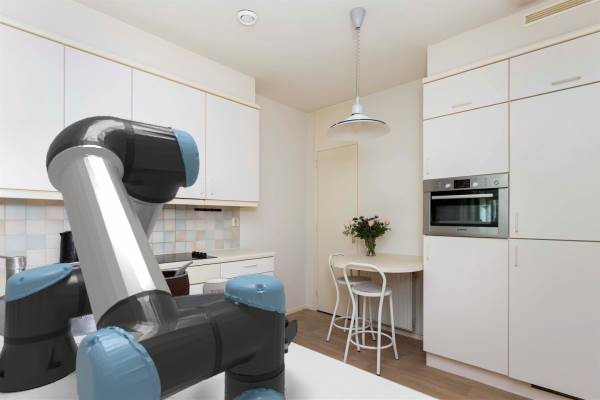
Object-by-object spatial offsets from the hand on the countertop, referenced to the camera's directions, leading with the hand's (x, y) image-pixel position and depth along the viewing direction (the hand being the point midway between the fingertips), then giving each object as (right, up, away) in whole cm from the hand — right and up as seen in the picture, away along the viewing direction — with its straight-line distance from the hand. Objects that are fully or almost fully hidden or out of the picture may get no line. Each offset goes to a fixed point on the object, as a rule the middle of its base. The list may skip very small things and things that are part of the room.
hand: (246, 316), depth 69 cm
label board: (-12, -13, +13) cm, 22 cm away
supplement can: (-13, -13, +24) cm, 30 cm away
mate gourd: (-28, -13, +24) cm, 39 cm away
